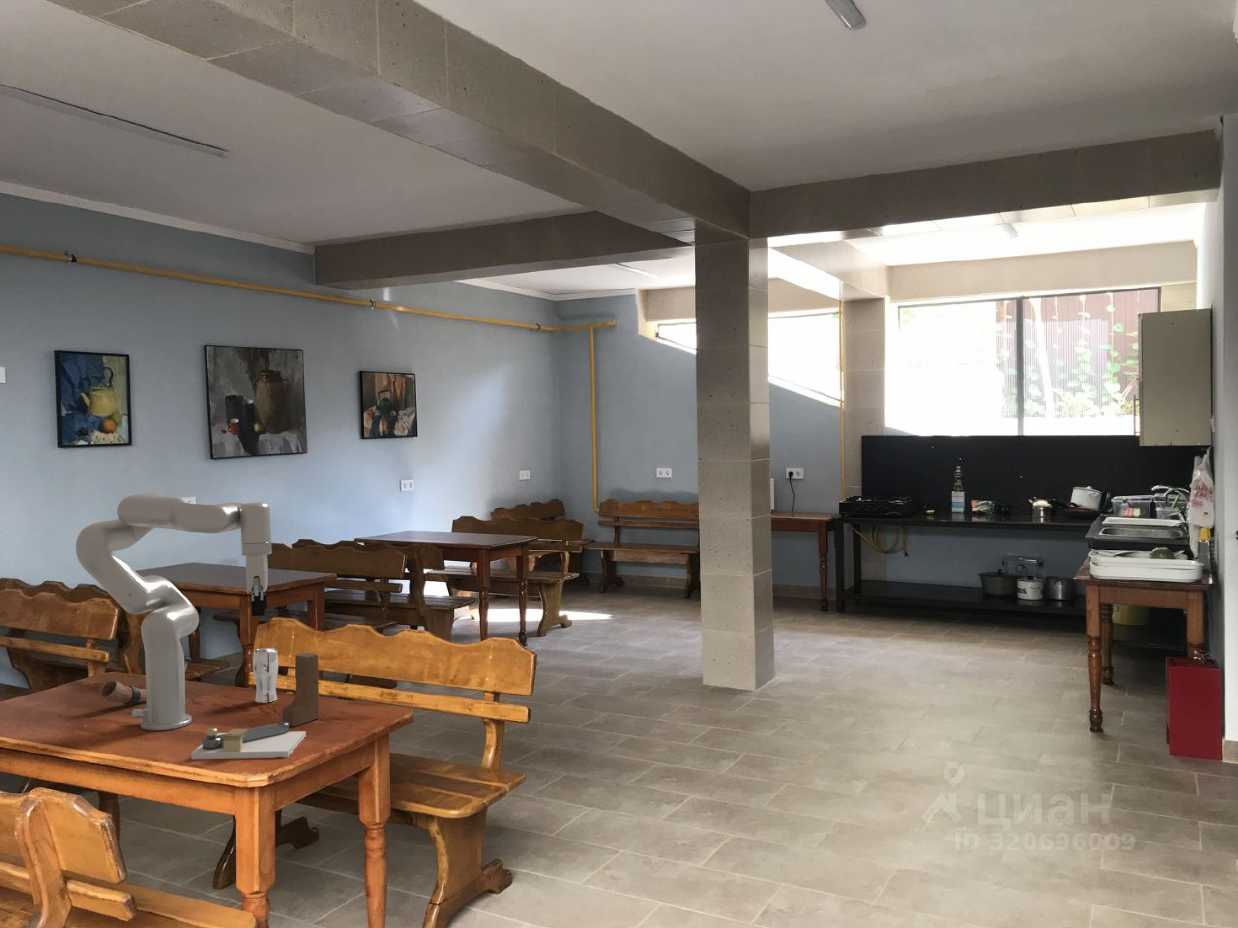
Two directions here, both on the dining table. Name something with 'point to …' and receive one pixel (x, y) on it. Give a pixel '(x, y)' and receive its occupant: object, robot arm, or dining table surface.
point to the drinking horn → (126, 691)
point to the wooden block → (304, 691)
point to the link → (252, 734)
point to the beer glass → (265, 674)
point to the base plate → (256, 747)
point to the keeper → (230, 738)
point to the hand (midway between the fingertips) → (259, 612)
